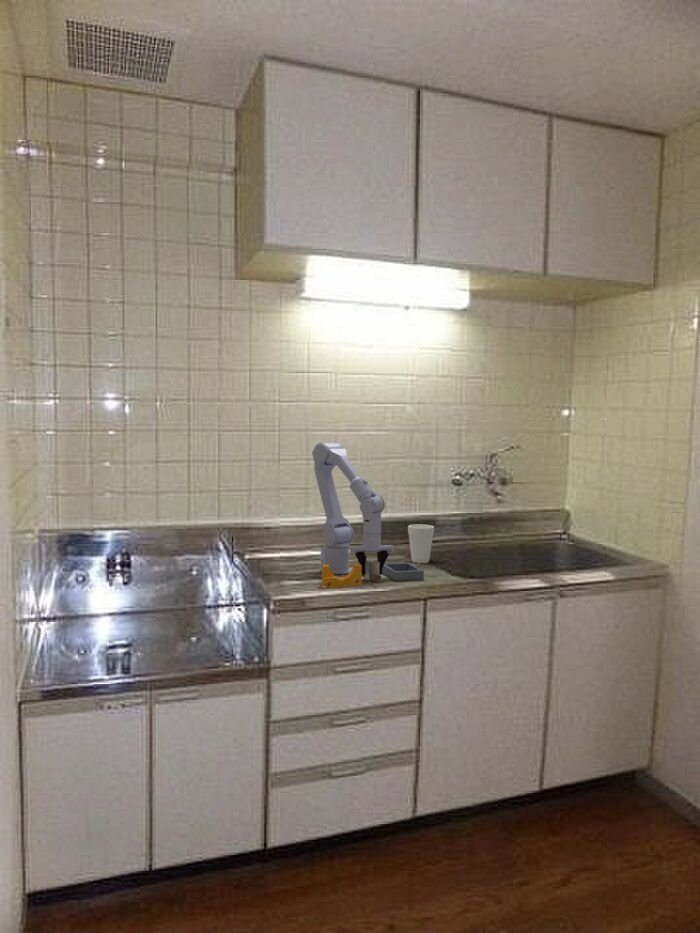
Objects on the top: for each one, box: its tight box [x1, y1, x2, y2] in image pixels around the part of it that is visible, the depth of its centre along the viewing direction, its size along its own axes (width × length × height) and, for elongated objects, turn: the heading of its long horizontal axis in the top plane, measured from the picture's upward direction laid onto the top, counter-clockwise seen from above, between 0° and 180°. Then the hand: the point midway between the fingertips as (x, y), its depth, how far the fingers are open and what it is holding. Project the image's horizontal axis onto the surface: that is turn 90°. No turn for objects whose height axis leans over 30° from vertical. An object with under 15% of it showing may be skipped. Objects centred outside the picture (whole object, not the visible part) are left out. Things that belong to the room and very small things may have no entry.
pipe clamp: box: [321, 563, 362, 588], centre depth 204 cm, size 12×4×6 cm, turn 102°
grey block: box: [363, 557, 379, 582], centre depth 214 cm, size 3×7×6 cm, turn 16°
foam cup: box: [407, 524, 435, 564], centre depth 242 cm, size 10×9×13 cm
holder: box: [370, 575, 382, 584], centre depth 214 cm, size 3×11×2 cm, turn 16°
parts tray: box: [382, 562, 425, 582], centre depth 218 cm, size 10×13×3 cm
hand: (371, 574), depth 214 cm, fingers open, 5 cm apart
